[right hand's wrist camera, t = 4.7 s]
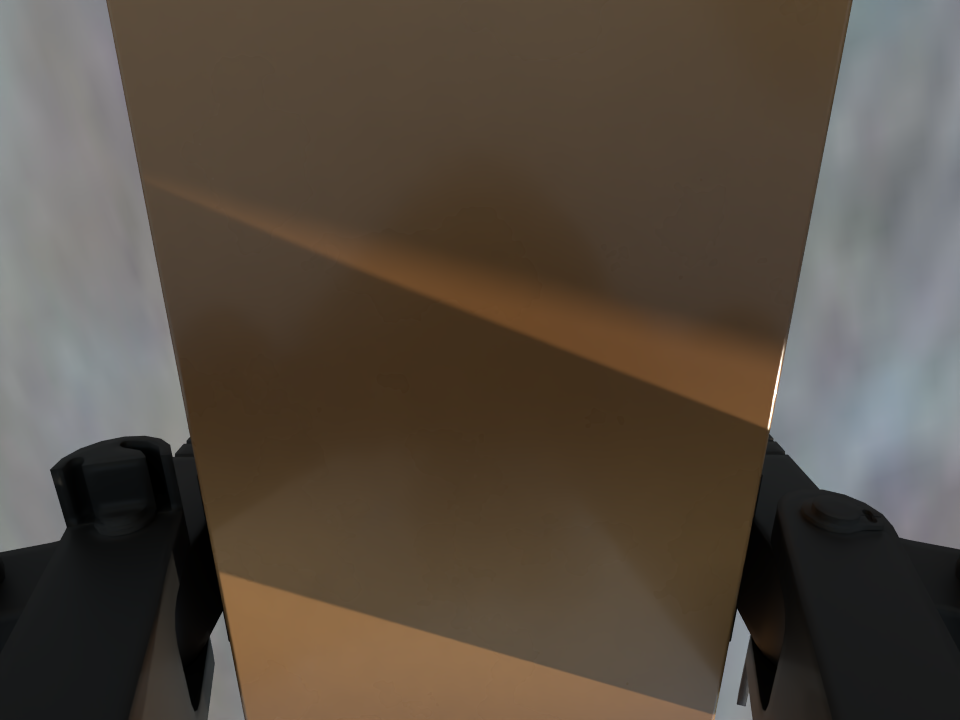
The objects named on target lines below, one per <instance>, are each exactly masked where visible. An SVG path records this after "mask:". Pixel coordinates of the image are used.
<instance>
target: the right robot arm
mask: <svg viewBox="0 0 960 720" xmlns="http://www.w3.org/2000/svg"><path fill="white" fill-rule="evenodd" d="M50 471H51V475H52V478H53V481H54V485H55V488H56V492H57V495H58V499H59V502H60V505H61V509H62V512H63V516H64V519H65V522H66V526H67V528H66V530H65V532H64V534H63V536H62V538H61V540H60V541H57V542H53V543H47V544H42V545H37V546H32V547H26V548H21V549H16V550H11V551H5V552H0V720H207V719H208V711H209V704H210V696H211V688H212V680H213V672H214V665H215V662H214V656H213V650H212V645H211V640H210V635H211V633H212V631H213V629H214V627H215V625H216V623H217V621H218V619H219V617H220V615H221V613H222V611H223V614H224V609H223V603H222V598H221V593H220V588H219V583H218V577H217V572H216V567H215V562H214V557H213V552H212V546H211V541H210V536H209V531H208V526H207V520H206V515H205V510H204V505H203V500H202V494H201V489H200V484H199V479H198V474H197V468H196V463H195V458H194V453H193V448H192V443H191V437H190V438H189V439H188V440H187V444H183V445H182V447H181V448H180V449H179V450H178V451H177V452H176V453H175V457H172V452H171V447H170V445H169V444H168V443H166V442H165V441H163V440H162V439H160V438H154V437H149V436H129V437H120V438H115V439H110V440H105V441H101V442H98V443H95V444H92V445H89V446H86V447H83V448H81V449H79V450H77V451H75V452H73V453H71V454H69V455H68V456H66V457H64V458H62V459H61V460H60V461H59V462H58V463H57V464H56V465H55V466H54V467H52V468H51V469H50ZM737 609H738V611H739V613H740V615H741V617H742V619H743V621H744V622H745V624H746V626H747V628H748V630H749V632H750V634H751V635H750V640H749V645H748V650H747V654H746V659H745V664H744V669H743V674H742V678H741V683H740V688H739V693H738V700H737V705H742V706H746V702H747V697H748V693H749V694H750V702H751V710H752V717H753V720H960V549H954V548H949V547H944V546H938V545H933V544H928V543H922V542H917V541H912V540H907V539H903V538H899V537H898V535H897V533H896V531H895V529H894V527H893V526H892V525H891V524H890V522H889V521H888V520H887V519H886V518H885V517H884V516H883V514H881V513H880V512H878V511H877V510H875V509H873V508H872V507H870V506H869V505H867V504H866V503H864V502H861V501H859V500H856V499H854V498H851V497H849V496H847V495H844V494H839V493H835V492H831V491H826V490H820V489H819V488H818V487H817V486H816V485H815V484H814V483H813V482H812V481H811V480H810V478H809V477H808V476H807V475H806V474H805V473H804V472H803V471H802V470H801V469H800V467H799V466H798V465H797V464H796V463H795V462H794V461H793V460H792V459H791V457H790V456H789V455H785V451H784V450H783V449H782V448H781V446H780V445H779V444H778V443H777V442H774V441H773V438H772V437H771V435H770V434H769V438H768V443H767V448H766V453H765V458H764V464H763V469H762V474H761V479H760V484H759V490H758V495H757V500H756V505H755V510H754V516H753V521H752V526H751V531H750V536H749V542H748V547H747V552H746V557H745V562H744V568H743V573H742V578H741V583H740V588H739V594H738V599H737V604H736V609H735V614H734V620H733V625H732V630H731V635H730V640H729V642H731V638H732V632H733V627H734V622H735V617H736V612H737ZM224 619H225V614H224ZM225 624H226V619H225ZM226 630H227V635H228V629H227V624H226ZM228 640H229V635H228ZM229 642H230V640H229Z"/></svg>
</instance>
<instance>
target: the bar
mask: <svg viewBox="0 0 960 720" xmlns="http://www.w3.org/2000/svg"><path fill="white" fill-rule="evenodd" d="M106 1H107V6H108V12H109V17H110V22H111V27H112V32H113V38H114V43H115V48H116V53H117V58H118V64H119V69H120V74H121V79H122V84H123V90H124V95H125V100H126V105H127V110H128V115H129V121H130V126H131V131H132V136H133V141H134V147H135V152H136V157H137V162H138V167H139V173H140V178H141V183H142V188H143V193H144V199H145V204H146V209H147V214H148V219H149V225H150V230H151V235H152V240H153V245H154V250H155V256H156V261H157V266H158V271H159V276H160V282H161V287H162V292H163V297H164V302H165V308H166V313H167V318H168V323H169V328H170V334H171V339H172V344H173V349H174V354H175V359H176V365H177V370H178V375H179V380H180V385H181V391H182V396H183V401H184V406H185V411H186V417H187V422H188V427H189V432H190V437H191V443H192V448H193V453H194V458H195V463H196V468H197V474H198V479H199V484H200V489H201V494H202V500H203V505H204V510H205V515H206V520H207V526H208V531H209V536H210V541H211V546H212V552H213V557H214V562H215V567H216V572H217V577H218V583H219V588H220V593H221V598H222V603H223V609H224V614H225V619H226V624H227V629H228V635H229V640H230V645H231V650H232V655H233V661H234V666H235V671H236V676H237V681H238V687H239V692H240V697H241V702H242V707H243V712H244V718H245V720H714V718H715V713H716V708H717V703H718V698H719V692H720V687H721V682H722V677H723V672H724V666H725V661H726V656H727V651H728V646H729V640H730V635H731V630H732V625H733V620H734V614H735V609H736V604H737V599H738V594H739V588H740V583H741V578H742V573H743V568H744V562H745V557H746V552H747V547H748V542H749V536H750V531H751V526H752V521H753V516H754V510H755V505H756V500H757V495H758V490H759V484H760V479H761V474H762V469H763V464H764V458H765V453H766V448H767V443H768V438H769V432H770V427H771V422H772V417H773V412H774V406H775V401H776V396H777V391H778V386H779V380H780V375H781V370H782V365H783V360H784V354H785V349H786V344H787V339H788V334H789V328H790V323H791V318H792V313H793V308H794V302H795V297H796V292H797V287H798V282H799V276H800V271H801V266H802V261H803V256H804V250H805V245H806V240H807V235H808V230H809V224H810V219H811V214H812V209H813V204H814V198H815V193H816V188H817V183H818V178H819V172H820V167H821V162H822V157H823V152H824V146H825V141H826V136H827V131H828V126H829V120H830V115H831V110H832V105H833V100H834V94H835V89H836V84H837V79H838V74H839V68H840V63H841V58H842V53H843V48H844V42H845V37H846V32H847V27H848V22H849V16H850V11H851V6H852V1H853V0H106Z"/></svg>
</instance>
